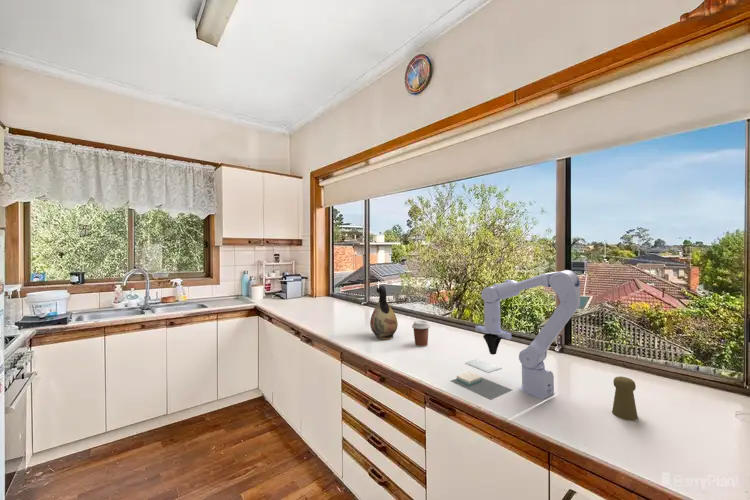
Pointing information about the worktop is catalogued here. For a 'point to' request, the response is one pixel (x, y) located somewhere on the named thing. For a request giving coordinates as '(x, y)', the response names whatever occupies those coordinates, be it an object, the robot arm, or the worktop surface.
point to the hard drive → (483, 365)
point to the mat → (485, 388)
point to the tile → (469, 378)
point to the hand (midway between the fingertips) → (493, 353)
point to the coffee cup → (421, 333)
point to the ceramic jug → (383, 318)
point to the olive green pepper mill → (624, 399)
